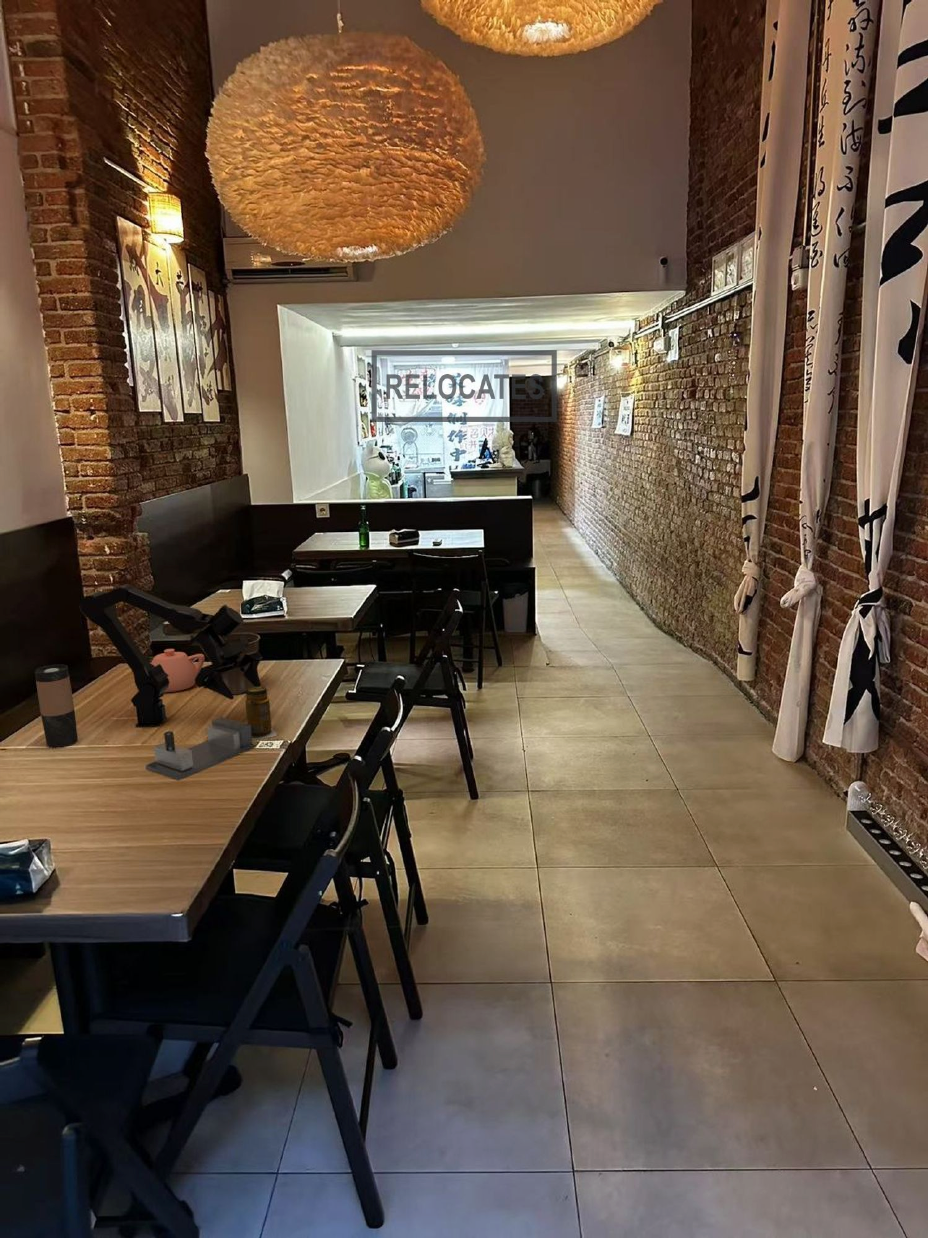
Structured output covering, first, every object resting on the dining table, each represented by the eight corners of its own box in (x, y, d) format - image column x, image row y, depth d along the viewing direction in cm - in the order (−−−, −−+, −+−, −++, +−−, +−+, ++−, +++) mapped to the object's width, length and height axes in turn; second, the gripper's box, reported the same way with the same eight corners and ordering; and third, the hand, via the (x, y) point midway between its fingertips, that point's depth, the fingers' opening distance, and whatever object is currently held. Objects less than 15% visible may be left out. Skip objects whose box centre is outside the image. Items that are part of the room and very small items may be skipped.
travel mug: (85, 739, 202) (74, 665, 197) (59, 750, 195) (48, 674, 191) (65, 735, 205) (54, 663, 201) (39, 746, 198) (27, 671, 194)
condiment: (270, 726, 208) (266, 683, 206) (277, 736, 201) (274, 692, 198) (243, 731, 205) (238, 687, 202) (249, 741, 198) (244, 696, 195)
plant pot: (256, 697, 232) (251, 645, 229) (202, 698, 233) (197, 646, 229) (270, 680, 248) (265, 631, 244) (220, 682, 248) (215, 633, 245)
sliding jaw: (182, 771, 177) (178, 738, 176) (155, 762, 183) (151, 730, 181) (193, 766, 180) (189, 734, 178) (166, 758, 185) (162, 726, 184)
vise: (178, 780, 176) (175, 755, 174) (146, 769, 182) (143, 745, 181) (253, 747, 193) (251, 725, 192) (222, 738, 200) (220, 716, 199)
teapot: (129, 698, 235) (124, 659, 232) (137, 683, 249) (133, 646, 246) (205, 691, 239) (201, 653, 236) (209, 677, 254) (205, 641, 251)
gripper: (196, 637, 195) (230, 685, 191) (254, 622, 210) (286, 666, 206) (180, 663, 201) (212, 710, 197) (237, 646, 216) (268, 690, 212)
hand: (246, 693), depth 203 cm, fingers open, 9 cm apart
